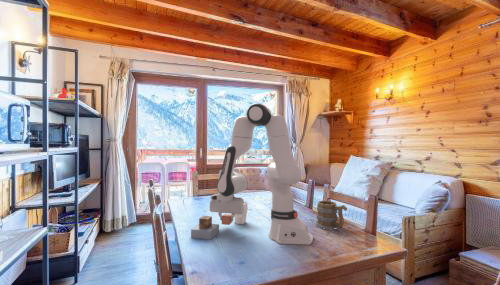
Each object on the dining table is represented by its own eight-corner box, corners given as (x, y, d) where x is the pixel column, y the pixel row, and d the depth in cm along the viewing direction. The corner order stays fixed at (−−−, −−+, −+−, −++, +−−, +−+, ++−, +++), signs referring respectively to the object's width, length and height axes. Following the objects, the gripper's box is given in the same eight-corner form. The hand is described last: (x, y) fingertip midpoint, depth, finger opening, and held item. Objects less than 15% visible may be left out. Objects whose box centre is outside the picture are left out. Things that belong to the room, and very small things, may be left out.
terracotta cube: (232, 222, 136) (231, 214, 136) (228, 224, 132) (228, 216, 132) (224, 221, 138) (224, 214, 138) (221, 224, 133) (221, 216, 133)
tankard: (311, 224, 143) (311, 199, 143) (326, 221, 148) (326, 197, 149) (337, 235, 125) (337, 207, 125) (353, 232, 131) (353, 204, 131)
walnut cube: (211, 225, 127) (211, 216, 127) (207, 228, 122) (207, 219, 122) (203, 224, 128) (203, 215, 129) (199, 228, 124) (199, 218, 124)
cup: (239, 219, 152) (239, 200, 152) (250, 221, 147) (250, 202, 147) (229, 222, 145) (230, 203, 145) (241, 225, 139) (241, 205, 139)
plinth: (219, 231, 129) (219, 224, 129) (210, 239, 119) (210, 231, 119) (200, 229, 132) (200, 222, 132) (191, 237, 122) (191, 229, 122)
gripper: (245, 196, 135) (245, 220, 135) (213, 194, 141) (213, 217, 141) (241, 198, 129) (242, 223, 129) (208, 196, 135) (208, 220, 135)
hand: (226, 220), depth 135 cm, fingers closed on terracotta cube, 4 cm apart
